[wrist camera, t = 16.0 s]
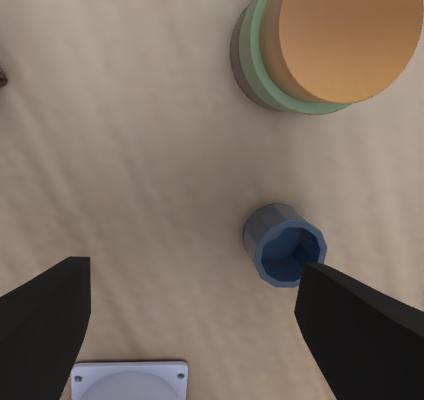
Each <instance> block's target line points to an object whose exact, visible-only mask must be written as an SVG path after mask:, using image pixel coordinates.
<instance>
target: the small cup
mask: <svg viewBox="0 0 424 400" xmlns="http://www.w3.org/2000/svg"><path fill="white" fill-rule="evenodd" d="M243 240H244V245H245V247H246V249H247V251H248V253H249V255H250V257H251V259H252V261H253V263H254V265H255V267H256V269H257V271H258V273H259V275H260V277H261V278H262V279H263V280H265V281H266V282H268V283H270V284H271V285H273V286H275V287H291V288H294V287H297V286H299V284H300V279H301V274H302V268H303V263H322V264H324V260H325V255H326V250H327V246H326V243H325V241H324V238H323V235H322V233H321V231H320V230H319V229H318V228H317V227H316V226H314V225H313V224H312V223H311V222H310V221H309V220H308V219H306V218H305V217H304V216H303V215H302V214H300V213H299V212H298V211H296V210H295V209H294V208H292V207H290V206H288V205H285V204H270V205H266V206H264V207H262V208H260V209H258V210H257V211H256V212H254V213H253V214H252V215H251V217H250V218H249V219H248V221H247V223H246V225H245V228H244V232H243Z"/></svg>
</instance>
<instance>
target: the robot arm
mask: <svg viewBox="0 0 424 400" xmlns="http://www.w3.org/2000/svg"><path fill="white" fill-rule="evenodd" d="M90 314H91V282H90V257H68V258H66V259H64V260H63V261H61V262H59V263H58V264H56V265H54V266H53V267H51V268H50V269H48V270H46V271H45V272H43V273H42V274H40V275H38V276H37V277H35V278H33V279H32V280H30V281H28V282H27V283H25V284H23V285H21V286H20V287H18V288H16V289H14V290H12V291H11V292H9V293H7V294H5V295H3V296H1V297H0V400H59V399H60V397H61V395H62V392H63V390H64V387H65V385H66V382H67V380H68V378H69V375H70V373H71V394H72V400H186V389H187V377H188V365H187V363H186V362H183V361H168V362H113V363H77V364H75V365H74V363H75V361H76V358H77V356H78V353H79V351H80V348H81V346H82V343H83V341H84V337H85V333H86V330H87V326H88V322H89V318H90ZM294 314H295V317H296V320H297V322H298V325H299V328H300V330H301V333H302V336H303V338H304V340H305V342H306V344H307V346H308V348H309V350H310V352H311V353H312V355H313V357H314V359H315V361H316V363H317V364H318V366H319V368H320V370H321V372H322V374H323V375H324V377H325V379H326V381H327V383H328V384H329V386H330V388H331V390H332V392H333V394H334V395H335V397H336V399H337V400H424V312H423V311H421V310H418V309H416V308H414V307H411V306H409V305H407V304H404V303H402V302H400V301H398V300H396V299H394V298H392V297H389V296H387V295H385V294H383V293H381V292H379V291H377V290H375V289H373V288H371V287H369V286H367V285H365V284H363V283H361V282H359V281H358V280H356V279H354V278H352V277H350V276H348V275H346V274H344V273H342V272H340V271H338V270H336V269H334V268H332V267H329V266H327V265H324V264H322V263H303V268H302V274H301V279H300V284H299V290H298V295H297V300H296V306H295V311H294ZM180 373H182V375H178V374H180ZM77 376H81V377H77Z"/></svg>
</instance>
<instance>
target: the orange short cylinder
mask: <svg viewBox="0 0 424 400" xmlns="http://www.w3.org/2000/svg"><path fill="white" fill-rule="evenodd" d="M423 13H424V8H423V0H268V2H267V4H266V7H265V9H264V12H263V15H262V19H261V24H260V32H259V45H260V52H261V57H262V60H263V64H264V66H265V68H266V71H267V73H268V74H269V76H270V78H271V79H272V81H273V82H274V83H275V84H276V86H277V87H278V88H280V89H281V90H282V91H283V92H284V93H286V94H287V95H289V96H291V97H293V98H295V99H297V100H300V101H303V102H309V103H334V104H348V103H355V102H359V101H363V100H366V99H368V98H370V97H373V96H374V95H376V94H378V93H380V92H381V91H382V90H384V89H385V88H387V87H388V86H389V85H390V84H391V83H392V82H393V81H394V80H395V79H396V78H397V77H398V76H399V75H400V74H401V73H402V71H403V70H404V69H405V67H406V66H407V64H408V63H409V61H410V59H411V57H412V55H413V54H414V51H415V49H416V46H417V44H418V41H419V37H420V34H421V29H422V24H423Z"/></svg>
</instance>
